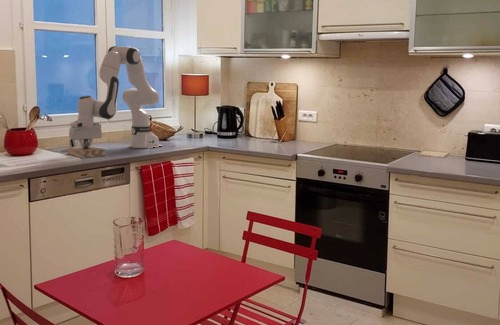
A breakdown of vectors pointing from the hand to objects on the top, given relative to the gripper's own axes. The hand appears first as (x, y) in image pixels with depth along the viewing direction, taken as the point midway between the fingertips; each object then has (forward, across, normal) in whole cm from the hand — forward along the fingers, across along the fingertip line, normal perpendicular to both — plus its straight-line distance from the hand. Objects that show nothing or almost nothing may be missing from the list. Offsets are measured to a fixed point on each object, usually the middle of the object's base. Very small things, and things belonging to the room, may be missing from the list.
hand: (86, 146), depth 332 cm
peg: (+4, 0, 0) cm, 4 cm away
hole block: (+5, 0, 0) cm, 5 cm away
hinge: (+6, -9, -23) cm, 25 cm away
